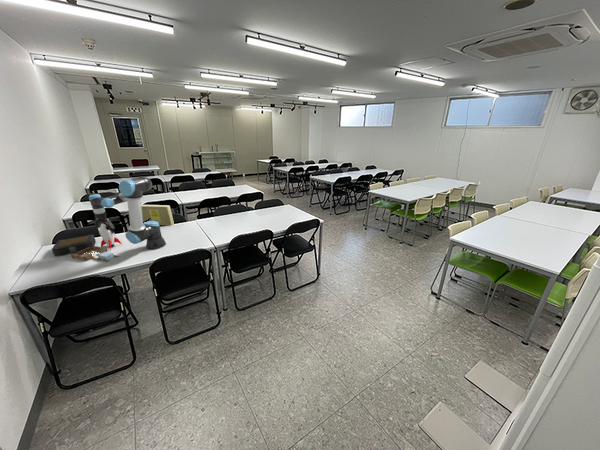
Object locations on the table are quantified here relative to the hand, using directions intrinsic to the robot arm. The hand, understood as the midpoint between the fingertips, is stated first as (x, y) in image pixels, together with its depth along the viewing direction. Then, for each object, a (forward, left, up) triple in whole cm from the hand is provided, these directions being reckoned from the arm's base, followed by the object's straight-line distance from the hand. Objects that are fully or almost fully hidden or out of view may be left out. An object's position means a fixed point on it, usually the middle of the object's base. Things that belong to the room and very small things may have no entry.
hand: (107, 235), depth 206 cm
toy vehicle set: (+5, -55, -12) cm, 57 cm away
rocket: (0, 0, -12) cm, 12 cm away
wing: (-16, +16, -11) cm, 26 cm away
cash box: (+26, +12, -12) cm, 31 cm away
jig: (-6, +16, -11) cm, 21 cm away
